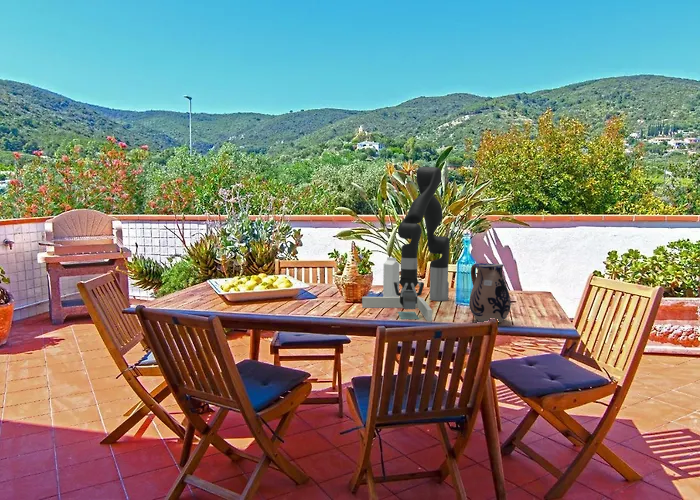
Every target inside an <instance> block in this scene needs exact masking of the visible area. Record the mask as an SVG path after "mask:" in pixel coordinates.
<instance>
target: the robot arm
mask: <svg viewBox="0 0 700 500" xmlns="http://www.w3.org/2000/svg"><path fill="white" fill-rule="evenodd" d="M442 174H443V173H442V171H441V168H439V167H435V166H419V167H418V168H417V170H416V176H415V177H416V183H417V187H418V188H417V189H418V190H419V195H418V196H417V197H416V198H415V199H414V200H413V202H412V203H411V205H410V207H409V210H408V213H407V214H406V215H405V216H404V217H403V218H404V219H402V221H401V222H400V224H399V225H398V228H397V235H398V236H399V238H401V239H404V240H405V239H406V240H410V242H409V243H405V244H403V245H402V246H401V258H400V259H401V261H400V278H399V282H394V287H395V292H396V295H398V296H399V297H400V304H401V305H403V292H405V290H412V291H413V292H415V293H416V304H417V297H420V296H422V293H423V290H424V287H425V283H424V281H419V280H418V247H419V243H420V240H421V236H422V233H423V232H422V226H421V225H420V224H419V223H422V221H423V218H424V223H425V224H424V225H425V229H426V240H427V249H428V252H429V253H430V254H433V255H435V254H436V255H441V257H439V258H437V259H434V260H431V262H430V265H429V266H430V271H429V272H430V273H429V274H430V275H429V276H430V277H429V300H431V301H435V302H438V301H439V302H444V301H449V292H450V291H449V288H450V287H449V286H450V283H449V263H450V262H449V261H450V259H449V258H450V256H449V255H450V245H451V244H450V238H449V237H448V236H445V235H444V236H442V235H440V236H439V235H438V236H437V235H435V232H436V230H437V228H438V227H439V225H440V224H441V223H442V221H443V215H444V214H443V207H442V205H441V202H440V201H439V200H438V199H437V198H436V196H435V193H436V191H437V190H438V188H439V186H440V184H441V182H442V177H443V175H442ZM398 286H399V287H400V286H401V290H399V291H398ZM417 286H418V287H419V288H418V291H416V287H417Z"/></svg>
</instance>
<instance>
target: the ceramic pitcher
mask: <svg viewBox="0 0 700 500" xmlns="http://www.w3.org/2000/svg"><path fill="white" fill-rule="evenodd" d="M503 268H504V264H501V263H500V264H499V263H483V262H475V263H473V264H472V265H471V268H470V277H471V282H472V289H471V292H470V295H469V303H468V304H469V310H470V312H471V314H472V315H473V317H474V318H475V320H477V321H478V322H480V323H483V322H484V321H488V320H489V319H490V318H495V319H498V321H499V323H498V324H500V323H502V322H504V321H505V320H506V319H507V318H508V316H509V314H510V312H511V308H512V307H511V306H512V304H511V303H512V302H511V301H512V300H511V295H510V293H509V290H508V287H507V282H506V280H505V277H504V275H503ZM476 270H477V273H476Z"/></svg>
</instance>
